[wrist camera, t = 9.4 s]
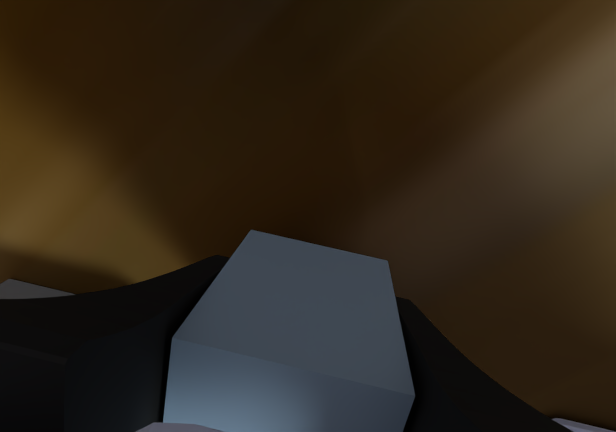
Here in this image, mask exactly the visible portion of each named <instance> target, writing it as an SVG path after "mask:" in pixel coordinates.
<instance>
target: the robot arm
mask: <svg viewBox="0 0 616 432" xmlns="http://www.w3.org/2000/svg"><path fill="white" fill-rule="evenodd" d="M229 259H230V258H228V257H224V256H220V255H215V256H212V257H209V258H206V259H204V260H201V261H199V262H196V263H194V264H191V265H188V266H186V267H183V268H181V269H178V270H176V271H173V272H170V273H167V274H164V275H161V276H158V277H155V278H152V279H149V280H146V281H142V282H139V283H135V284H131V285H127V286H123V287H118V288H114V289H109V290H103V291H96V292H90V293H83V294H76V295H69V296H58V297H46V298H28V299H0V432H224V431H220V430H216V429H212V428H208V427H205V426H201V425H197V424H184V423H163V417H164V408H165V399H166V390H167V381H168V371H169V362H170V353H171V344H172V337H173V336H174V334H175V333H176V332H177V330H178V329H179V328H180V326H181V325H182V324H183V322H184V321H185V319H186V318H187V317H188V315H189V314H190V313H191V311H192V310H193V308H194V307H195V306H196V304H197V303H198V302H199V300H200V299H201V297H202V296H203V295H204V293H205V292H206V291H207V289H208V288H209V286H210V285H211V284H212V282H213V281H214V280H215V278H216V277H217V275H218V274H219V273H220V271H221V270H222V269H223V267H224V266H225V265H226V263H227V262H228V260H229ZM395 299H396V304H397V308H398V313H399V318H400V323H401V328H402V333H403V338H404V343H405V348H406V353H407V358H408V363H409V368H410V372H411V377H412V382H413V387H414V392H415V398H414V401H413V404H412V407H411V410H410V413H409V415H408V418H407V421H406V424H405V427H404V430H403V432H616V431H612V430H607V429H603V428H599V427H595V426H591V425H586V424H582V423H578V422H574V421H570V420H565V419H561V418H554V419H551V418H549V417H547V416H546V415H544V414H542V413H541V412H539V411H537V410H536V409H534V408H533V407H531V406H530V405H528V404H527V403H525V402H524V401H522V400H521V399H519V398H518V397H516V396H515V395H513V394H512V393H510V392H509V391H508V390H506V389H505V388H503V387H502V386H501V385H499V384H498V383H497V382H495V381H494V380H493V379H492V378H490V377H489V376H488V375H486V374H485V373H484V372H483V371H481V370H480V369H479V368H478V367H477V366H475V365H474V364H473V363H472V362H471V361H470V360H468V359H467V358H466V357H465V356H464V355H463V354H462V353H461V352H460V351H459V350H458V349H457V348H456V347H454V346H453V345H452V344H451V343H450V342H449V341H448V340H447V339H446V338H445V337H444V336H443V335H442V334H441V332H440V331H439V330H438V329H437V328H436V327H435V326H434V325H433V324H432V323H431V322H430V321H429V320H428V319H427V318H426V316H425V315H424V314H423V313H422V312H421V311H420V310H419V309H418V308H417V307H416V306H415V305H414V304H413V303H412V302H411V301H410V300H408V299H403V298H399V297H395Z"/></svg>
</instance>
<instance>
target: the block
mask: <svg viewBox="0 0 616 432" xmlns="http://www.w3.org/2000/svg"><path fill="white" fill-rule="evenodd" d="M414 398H415V392H414V387H413V382H412V377H411V372H410V368H409V363H408V358H407V353H406V348H405V343H404V338H403V333H402V328H401V323H400V318H399V313H398V308H397V304H396V299H395V294H394V289H393V284H392V279H391V274H390V269H389V264H388V261H387V260H383V259H378V258H374V257H369V256H365V255H361V254H356V253H352V252H347V251H343V250H339V249H334V248H330V247H325V246H321V245H317V244H312V243H308V242H303V241H299V240H295V239H290V238H286V237H281V236H277V235H273V234H268V233H264V232H259V231H255V230H250V232H249V233H248V234H247V236H246V237H245V238H244V240H243V241H242V243H241V244H240V245H239V247H238V248H237V249H236V251H235V252H234V254H233V255H232V256H231V258H230V259H229V260H228V262H227V263H226V265H225V266H224V267H223V269H222V270H221V271H220V273H219V274H218V275H217V277H216V278H215V280H214V281H213V282H212V284H211V285H210V286H209V288H208V289H207V291H206V292H205V293H204V295H203V296H202V297H201V299H200V300H199V302H198V303H197V304H196V306H195V307H194V308H193V310H192V311H191V313H190V314H189V315H188V317H187V318H186V319H185V321H184V322H183V324H182V325H181V326H180V328H179V329H178V330H177V332H176V333H175V334H174V336H173V337H172V344H171V353H170V362H169V371H168V381H167V390H166V399H165V408H164V417H163V423H184V424H197V425H201V426H205V427H208V428H212V429H216V430H220V431H224V432H403V430H404V427H405V424H406V421H407V418H408V415H409V413H410V410H411V407H412V404H413V401H414Z"/></svg>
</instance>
